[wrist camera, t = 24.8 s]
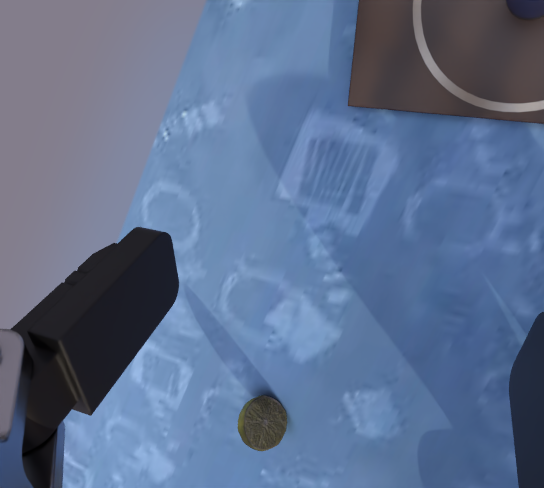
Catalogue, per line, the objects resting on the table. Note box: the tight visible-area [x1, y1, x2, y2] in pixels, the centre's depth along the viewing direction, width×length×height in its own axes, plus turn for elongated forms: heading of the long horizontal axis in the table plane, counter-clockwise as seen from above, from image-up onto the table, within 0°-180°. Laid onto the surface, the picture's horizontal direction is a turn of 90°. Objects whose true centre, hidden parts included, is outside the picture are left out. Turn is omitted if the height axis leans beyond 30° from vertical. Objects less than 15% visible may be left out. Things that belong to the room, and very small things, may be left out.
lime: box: [238, 395, 287, 451], centre depth 44 cm, size 4×5×5 cm
